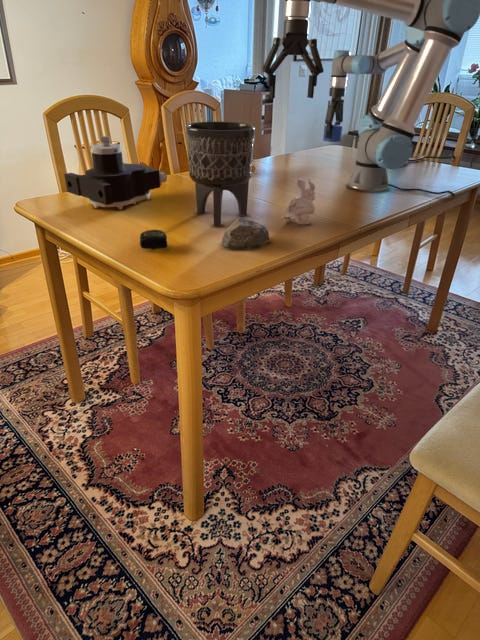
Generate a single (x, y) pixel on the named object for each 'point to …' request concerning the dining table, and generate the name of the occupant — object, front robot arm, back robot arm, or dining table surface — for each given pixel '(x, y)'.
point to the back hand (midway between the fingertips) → (332, 137)
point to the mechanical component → (113, 178)
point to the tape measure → (153, 239)
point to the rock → (245, 234)
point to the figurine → (301, 204)
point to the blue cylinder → (333, 133)
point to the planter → (220, 162)
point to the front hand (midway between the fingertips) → (291, 98)
